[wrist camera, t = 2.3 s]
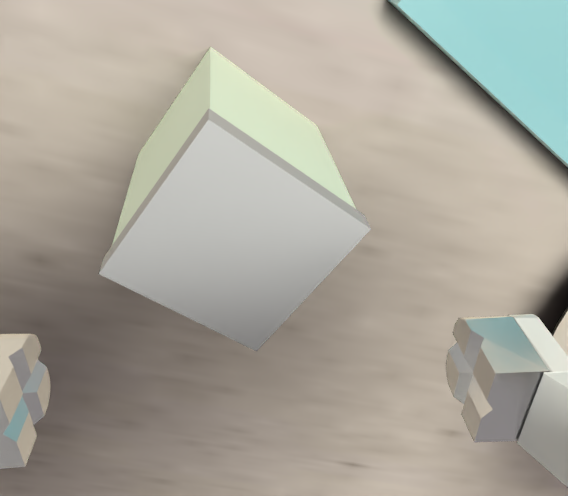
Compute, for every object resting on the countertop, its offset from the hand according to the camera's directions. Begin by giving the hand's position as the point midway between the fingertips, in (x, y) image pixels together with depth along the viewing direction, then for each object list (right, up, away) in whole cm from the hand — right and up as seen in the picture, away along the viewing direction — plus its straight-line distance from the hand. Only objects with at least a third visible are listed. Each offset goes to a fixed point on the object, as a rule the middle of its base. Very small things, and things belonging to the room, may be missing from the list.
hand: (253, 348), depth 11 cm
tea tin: (-2, +6, +11) cm, 12 cm away
